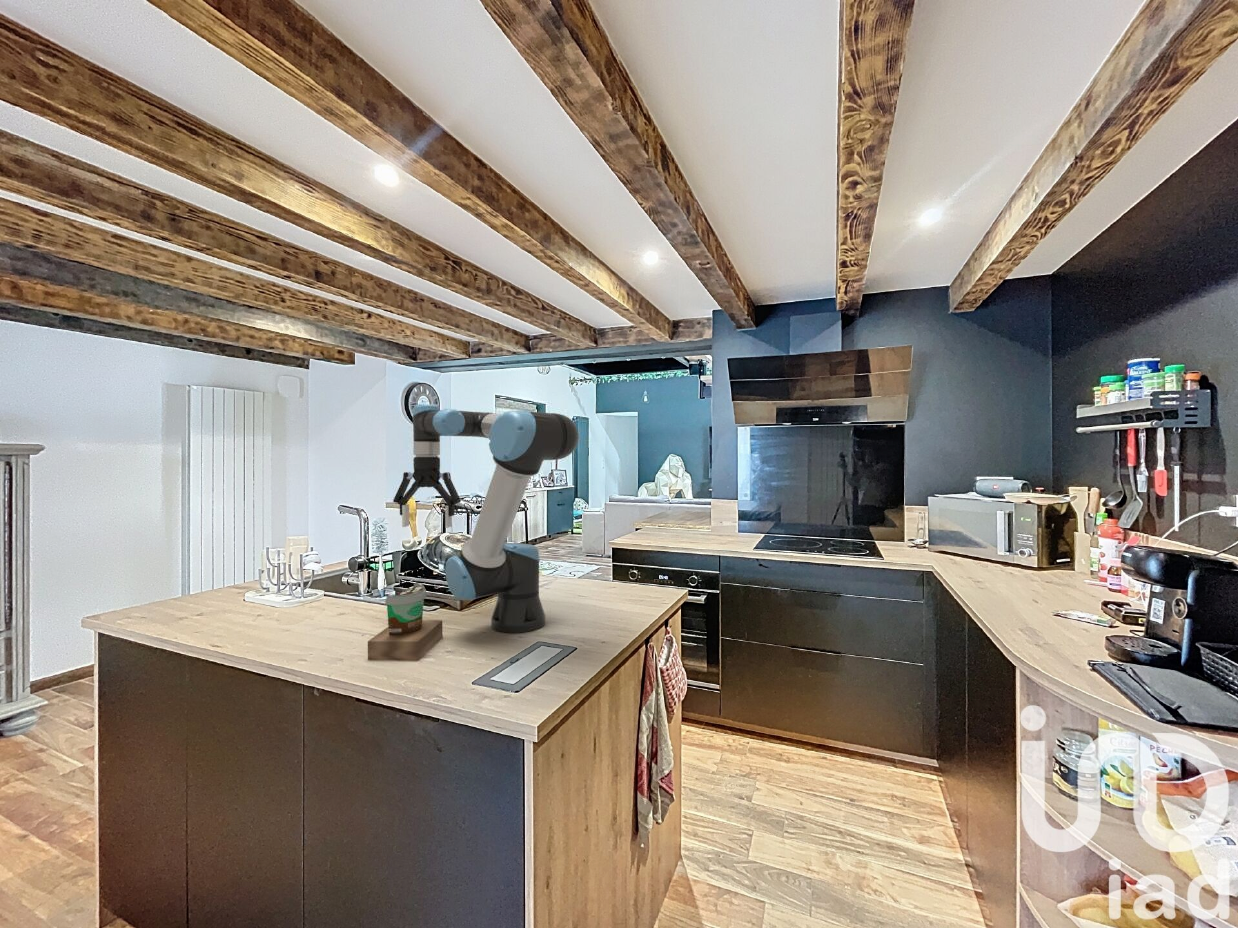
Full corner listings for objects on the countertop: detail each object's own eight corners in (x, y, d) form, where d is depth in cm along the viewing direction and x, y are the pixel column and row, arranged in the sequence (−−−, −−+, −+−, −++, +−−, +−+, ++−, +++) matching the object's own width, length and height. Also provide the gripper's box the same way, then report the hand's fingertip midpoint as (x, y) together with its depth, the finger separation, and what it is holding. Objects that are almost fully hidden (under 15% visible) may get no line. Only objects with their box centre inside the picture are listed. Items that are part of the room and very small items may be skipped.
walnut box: (442, 638, 140) (442, 620, 140) (418, 662, 124) (418, 641, 124) (397, 638, 140) (397, 620, 140) (367, 662, 124) (367, 641, 124)
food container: (407, 639, 125) (407, 598, 125) (385, 637, 127) (384, 596, 126) (436, 622, 137) (436, 584, 137) (415, 620, 139) (415, 582, 138)
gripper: (471, 456, 160) (471, 525, 161) (394, 456, 163) (395, 524, 164) (461, 456, 153) (461, 529, 153) (380, 456, 156) (381, 527, 156)
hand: (427, 526), depth 159 cm, fingers open, 13 cm apart
